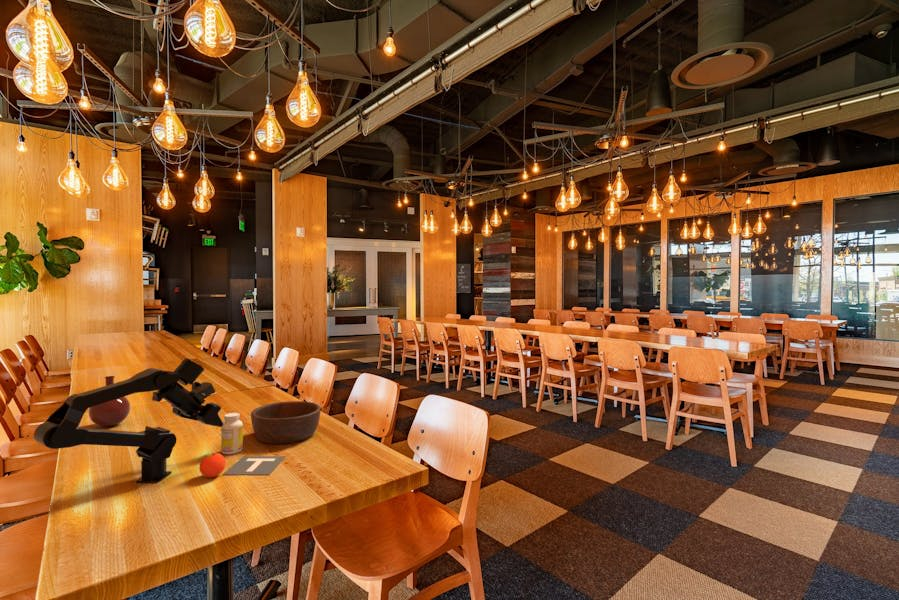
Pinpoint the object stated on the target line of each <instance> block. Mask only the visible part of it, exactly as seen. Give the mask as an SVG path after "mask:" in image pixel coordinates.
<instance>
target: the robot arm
mask: <svg viewBox="0 0 899 600" xmlns="http://www.w3.org/2000/svg"><path fill="white" fill-rule="evenodd" d="M204 371H205V368H204V367H203V366H202V365H201V364H198V363H197V362H195V361H193V360H191V359H190V358H186V357H185V358H183V360H182V361H181V362H180V364H179V365H178V366H177V367H176V369H174V370H173V371H171V370H164V369H160V368H155V367H154V368H153V367H151V368H146V369H144V370H142V371H140V372H138V373H135V374H134V375H133V376H131V377H130V378H127V379H125V380H124V379H123V380H121V381H118V382H114V384H110V385H107V386H106V385H104V386H100V387H97V388H94V389H91V390H88V391H87V390H86V391H84V392H81V393H80V392H79V393H73V394H71V395H69V396H68V397H67V398H66V399H65V401H64V402H63V403H62V404H61V405H60V406H59V407H58V408H56V409H55V411H53V412H52V413H51V414H50V415H49V416H48V417H47V419H46V420H45V421H44V422H43V423H40V424H39V425H38V426H37V427H36V428H35V430H34V432H33V439H34V440H35V442H36V443H37V444H38V443H39V445H40V444H41V445H42V446H44V447H46V448H49V449H51V450H52V449H53V450H56V449H57V450H58V449H66V448H73V447H77V446H82V445H86V446H87V445H90V446H91V445H92V446H114V447H130V448H131V447H133V448H134V447H135V448H136V447H137V449H135V452H136V455H137V457H138V458H142V459H141V461H140V465H141V468H140V471H141V473H140V474H141V475H140V476H141V477H139V478H138V479H136V480H135V483H159V482H161V481H162V480H164V479H165V478H166V477H168V476H170V475H171V474H172V471H171V470H170V471H169V470H168V471H167V459H169V458H171V455H172V452H173V449H174V447H175V446H176V444H177V436H176V434H175V433H172V432H171V430H170V429H167V428H164V427H161V426H156V427H151V426H148V425H145V427H144V430H142V431H128V430H125V431H124V430H113V429H103V428H102V429H101V428H100V429H99V428H88V427H81V426H80V424H81V421H82V420H83V417H84V415H85V413H86V412H87V410H89V408H90V407H93V406H96V405H99V404H102V403H106V402H109V401H112V400H115V399H118V398H121V397H124V396H125V397H126V396H130V395H133V394H137V393H147V392H149V393H150V392H152V398H151V400H152V401H153V402H157V403H160V402H161V401H162V400H164V401H166V402H167V403H169V404H170V406H171V410H172V413H173V415H175V416H177V417H180V418H183V419H187V420H192V421H197V422H199V423H201V424H202V425H208V426H213V427H218V428H219V427H220V428H221V427H222V426H223V425H224V424H223V423H224V422H223V421H222V419H221V417H220V415H219V412H221V409H222V406H220V405H219V404H218V403H214V402H208V403H206V404H205V405H204V403H205V402H206V398H208V397H209V396H211V395H213V394H215V393H216V389H215V387H214V385H213V383H212V382H207V381H205V382H204V381H203V382H199V381H196V380H197V379H198V378H199V377H200V375H201V374H202V373H203V372H204ZM188 385H190V386H191V389H190V390H188V388H186V387H185V386H188Z"/></svg>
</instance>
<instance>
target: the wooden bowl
mask: <svg viewBox="0 0 899 600" xmlns="http://www.w3.org/2000/svg"><path fill="white" fill-rule="evenodd" d="M321 410H322V409H321V406H320V405H319V404H318V403H315V402H311V401H310V402H309V401H304V400H303V401H301V400H300V401H299V400H293V401H291V400H289V401H279V402H278V401H277V402H273V403H268V404H265V405H261V406H258V407H257V408H255V409H253V410H252V411H251V413H250V420H251V425H252V430H253V433H254V435H255V437H256V439H258V440H259V441H260V442H262V443H263V444H268V445H269V444H270V445H287V444H293V443H295V444H296V443H299V442H301V441H304V440H307V439H309V438H311V437H312V436H313V435H314V434H315V432H316V431H317V429H318V425H319V423H320V417H321V412H322V411H321Z"/></svg>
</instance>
